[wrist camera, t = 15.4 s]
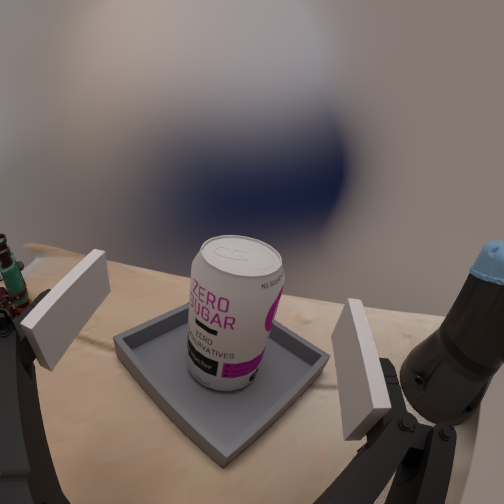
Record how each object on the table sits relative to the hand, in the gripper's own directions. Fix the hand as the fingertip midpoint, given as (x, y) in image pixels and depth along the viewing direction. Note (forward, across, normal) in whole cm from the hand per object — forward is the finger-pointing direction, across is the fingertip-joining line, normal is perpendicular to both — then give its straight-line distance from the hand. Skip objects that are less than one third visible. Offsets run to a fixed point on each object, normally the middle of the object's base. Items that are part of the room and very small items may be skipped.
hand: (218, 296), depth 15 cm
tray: (+10, 0, -19) cm, 21 cm away
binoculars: (+7, -33, -18) cm, 39 cm away
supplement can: (+10, 0, -18) cm, 20 cm away
